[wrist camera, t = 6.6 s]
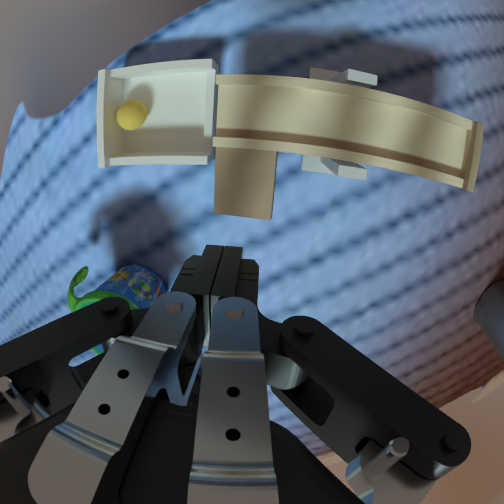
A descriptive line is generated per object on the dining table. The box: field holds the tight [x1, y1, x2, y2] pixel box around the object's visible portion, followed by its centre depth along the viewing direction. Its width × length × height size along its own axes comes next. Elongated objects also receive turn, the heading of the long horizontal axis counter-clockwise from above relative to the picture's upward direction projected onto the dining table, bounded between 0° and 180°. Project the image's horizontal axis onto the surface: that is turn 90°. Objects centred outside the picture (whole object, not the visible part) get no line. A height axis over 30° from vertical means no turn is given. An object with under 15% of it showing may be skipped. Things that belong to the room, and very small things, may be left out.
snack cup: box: [68, 264, 166, 355], centre depth 31 cm, size 16×10×10 cm
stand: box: [301, 67, 377, 180], centre depth 22 cm, size 6×11×8 cm, turn 176°
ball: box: [116, 100, 147, 130], centre depth 24 cm, size 3×3×3 cm
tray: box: [97, 59, 219, 168], centre depth 24 cm, size 11×10×5 cm
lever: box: [212, 74, 484, 220], centre depth 20 cm, size 22×12×3 cm, turn 86°
